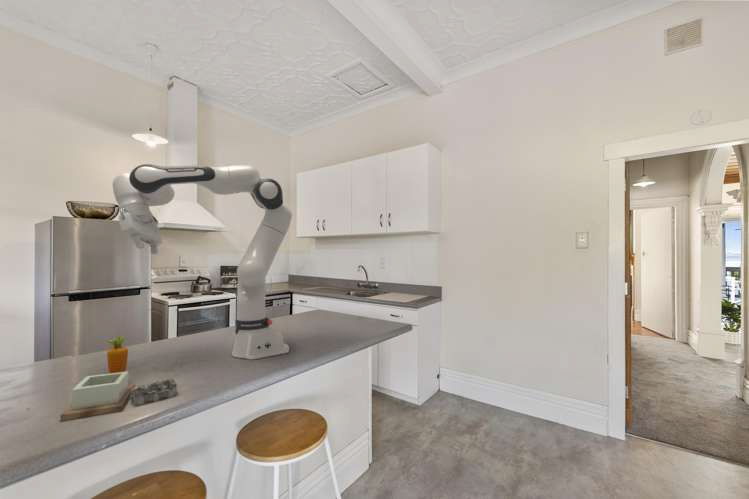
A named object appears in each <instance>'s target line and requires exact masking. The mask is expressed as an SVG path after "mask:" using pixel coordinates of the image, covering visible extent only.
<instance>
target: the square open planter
mask: <svg viewBox="0 0 749 499" xmlns="http://www.w3.org/2000/svg"><path fill="white" fill-rule="evenodd" d="M128 386H129V371H128V370H127V371H126V370H125V372H118V373H103V374H96V375H95V374H94V375H88V376H85V377H84V378H83V379H82V380H81V381H80V382H79V383H78V384H77V385H75V387H74V388H72V390H71V404H72V410H73V409H80V408H86V407H93V406H99V405H105V404H112V403H118V402H119V401H120V399H121V398H122V397H123V395H124V394H125V392H126V391H127V389H128Z"/></svg>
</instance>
